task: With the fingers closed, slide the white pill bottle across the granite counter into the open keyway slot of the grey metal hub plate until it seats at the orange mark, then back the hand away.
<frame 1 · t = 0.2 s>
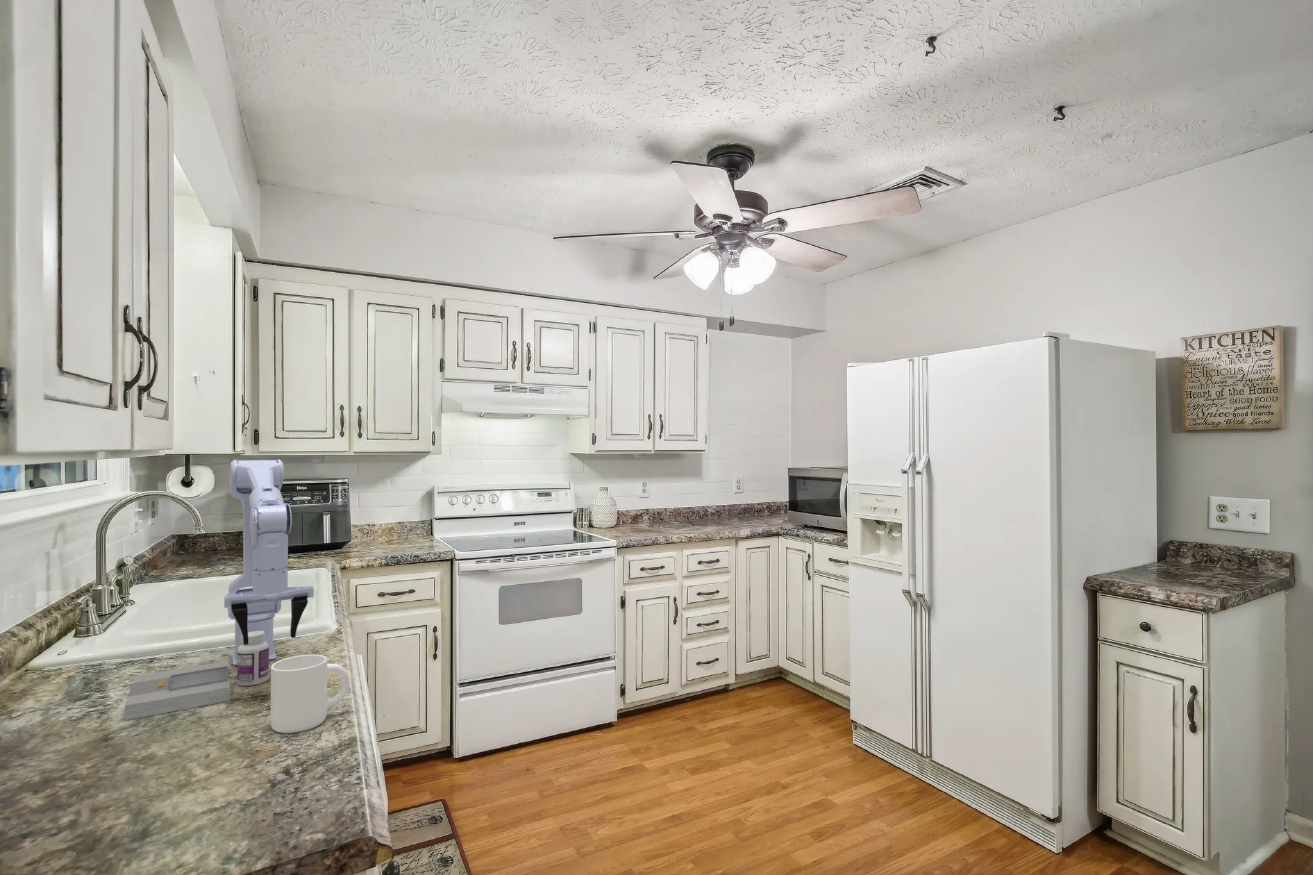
hand: (269, 639, 122), 10 cm above the countertop, tool pointing down, fingers open, 7 cm apart
pill bottle: (252, 682, 128), on the countertop
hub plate: (181, 694, 121), on the countertop
mug: (311, 721, 109), on the countertop
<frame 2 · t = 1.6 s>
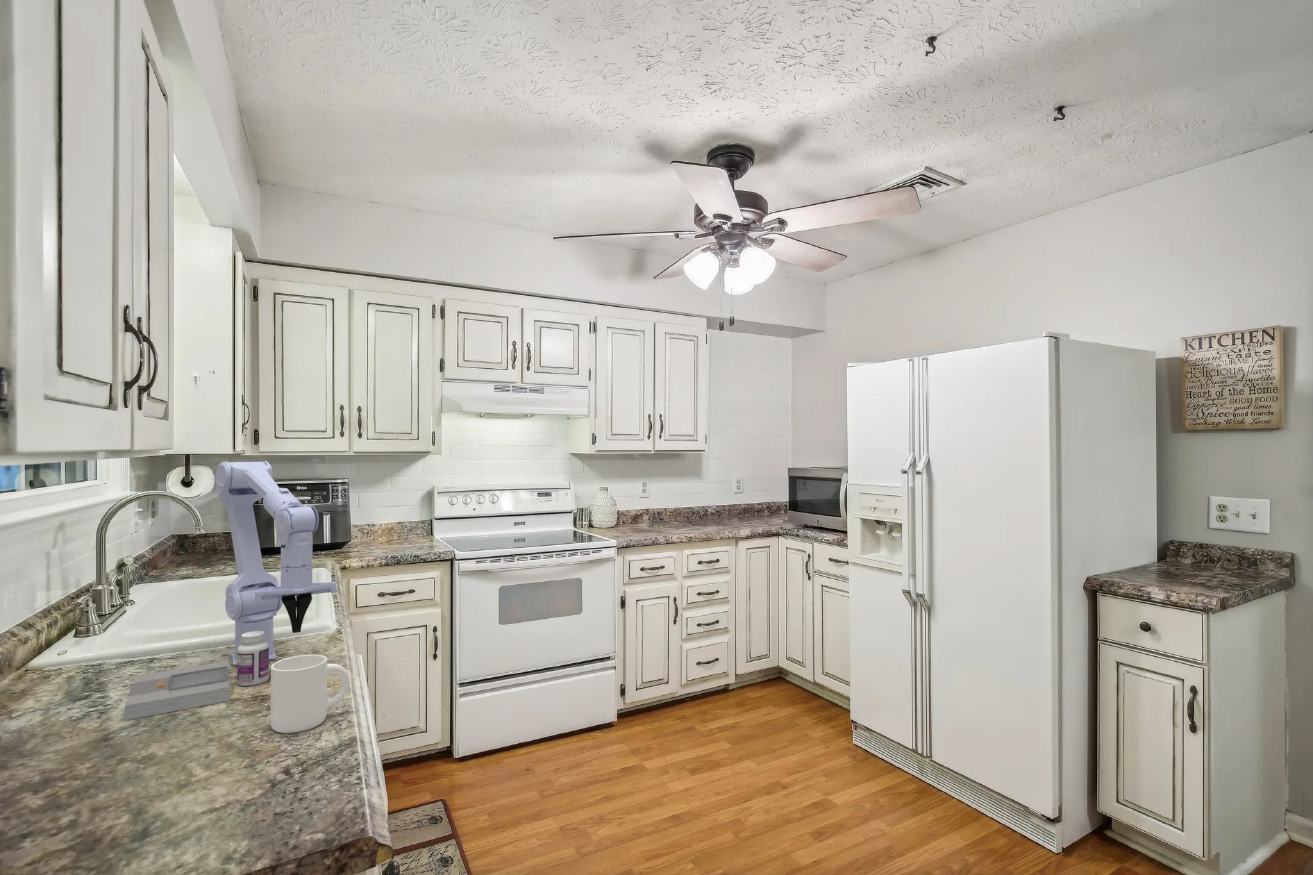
hand: (296, 631, 132), 9 cm above the countertop, tool pointing down, fingers closed
nothing on the countertop moved.
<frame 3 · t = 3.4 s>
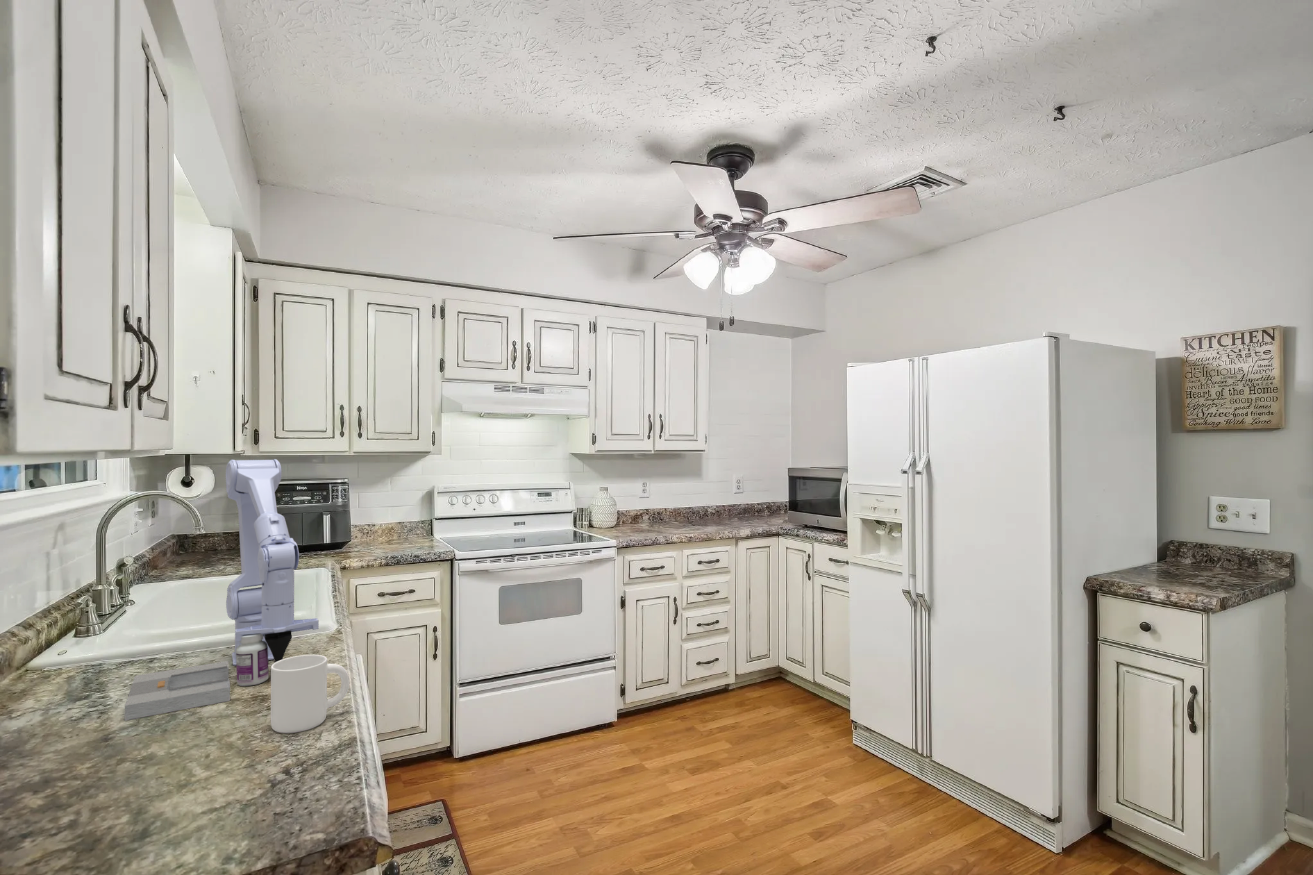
hand: (277, 670, 130), 2 cm above the countertop, tool pointing down, fingers closed, pressing on pill bottle
pill bottle: (252, 682, 128), on the countertop, touching gripper
everything else where it was.
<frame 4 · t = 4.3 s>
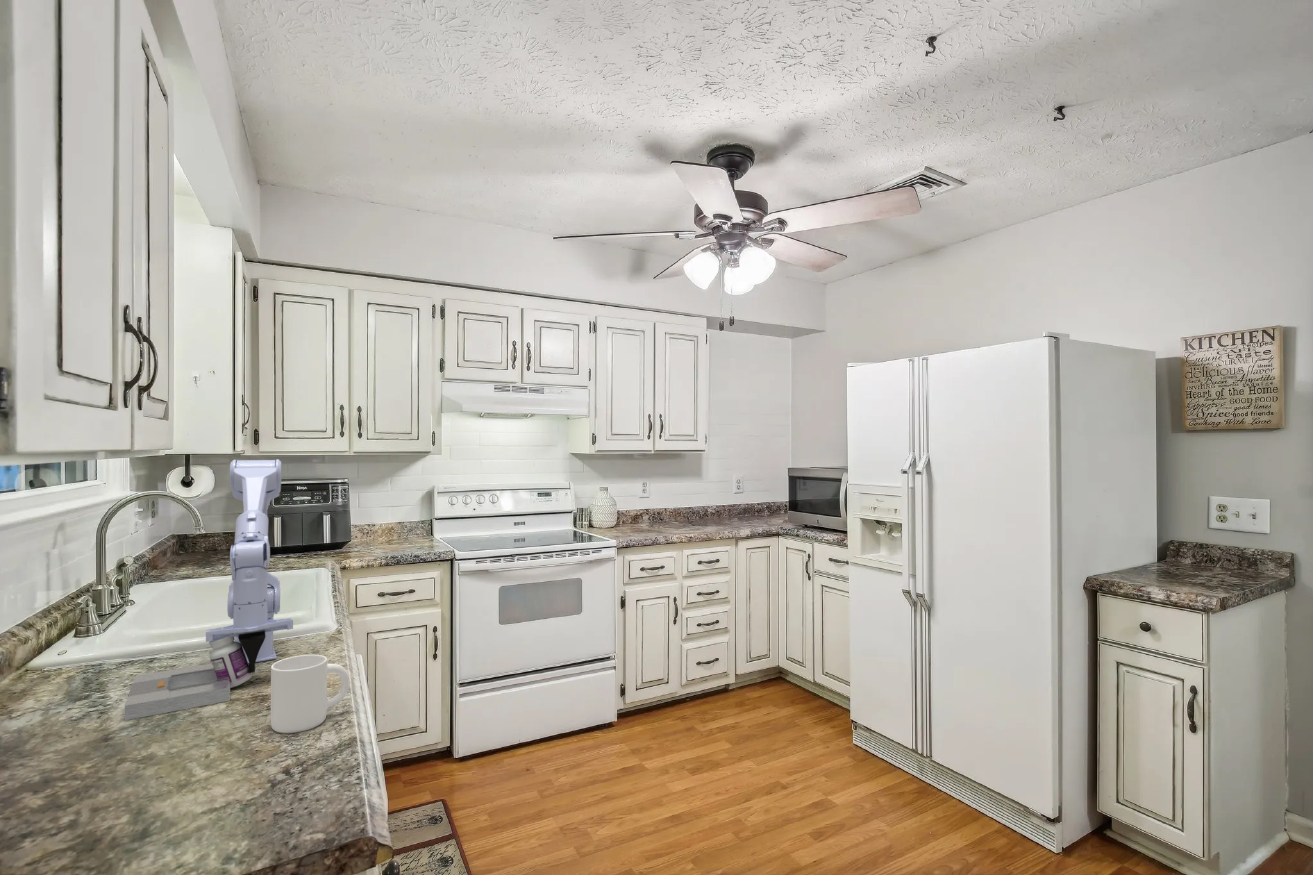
hand: (250, 671, 127), 2 cm above the countertop, tool pointing down, fingers closed, pressing on pill bottle
pill bottle: (237, 683, 126), on the countertop, touching gripper
everything else where it was.
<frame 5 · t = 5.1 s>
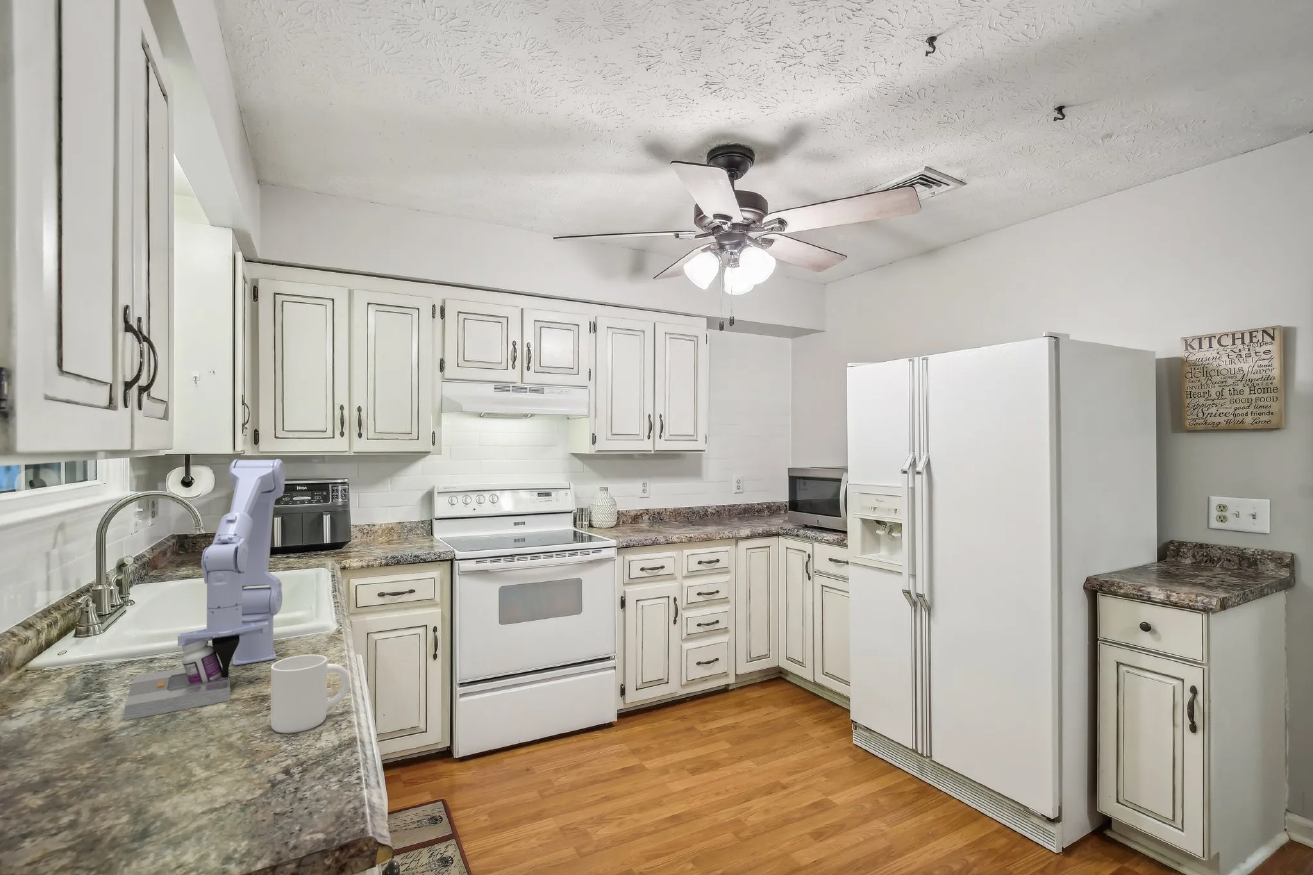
hand: (224, 676, 124), 2 cm above the countertop, tool pointing down, fingers closed, pressing on pill bottle
pill bottle: (210, 688, 124), resting in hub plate, touching gripper
everything else where it was.
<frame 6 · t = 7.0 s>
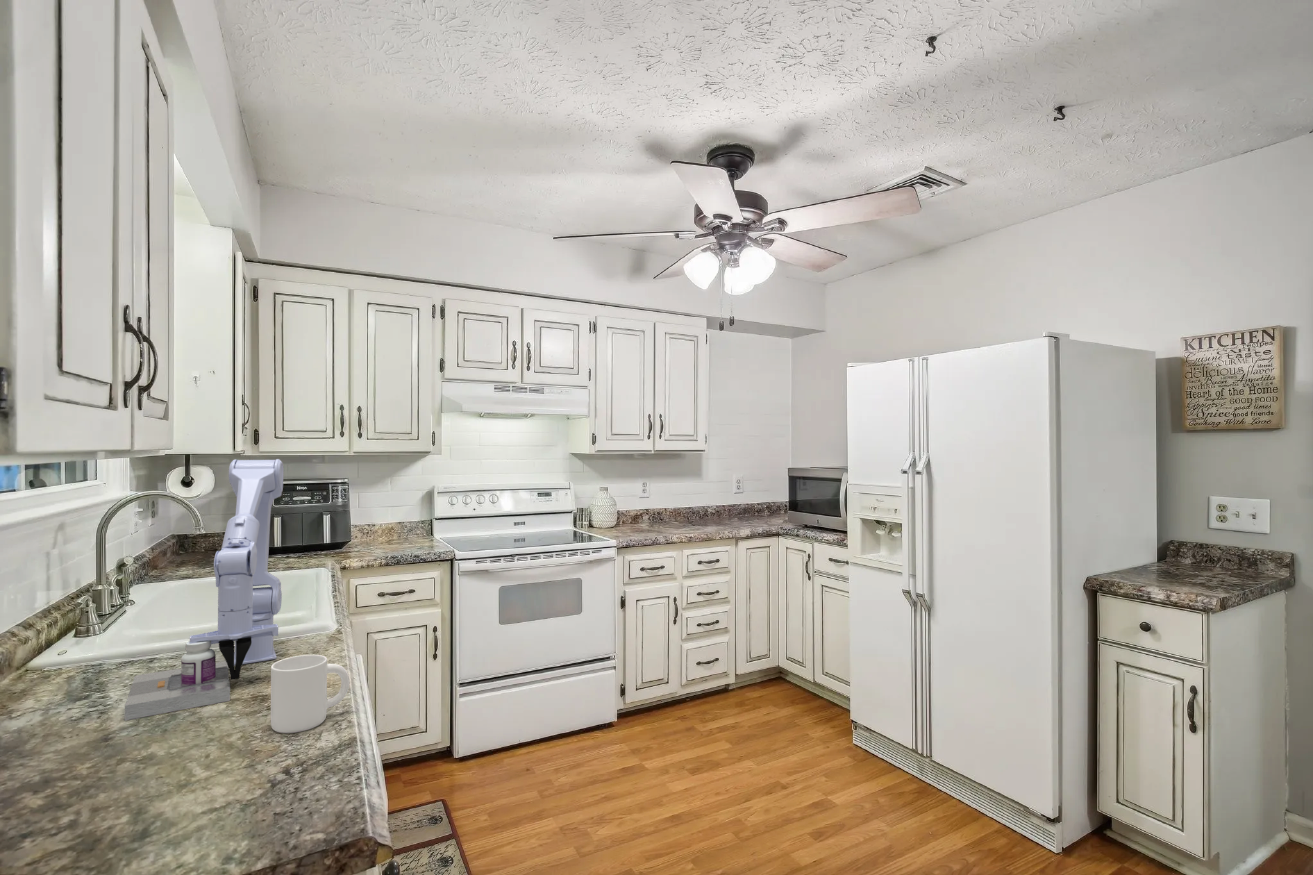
hand: (234, 677, 126), 1 cm above the countertop, tool pointing down, fingers closed
pill bottle: (198, 692, 123), resting in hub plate
everything else where it was.
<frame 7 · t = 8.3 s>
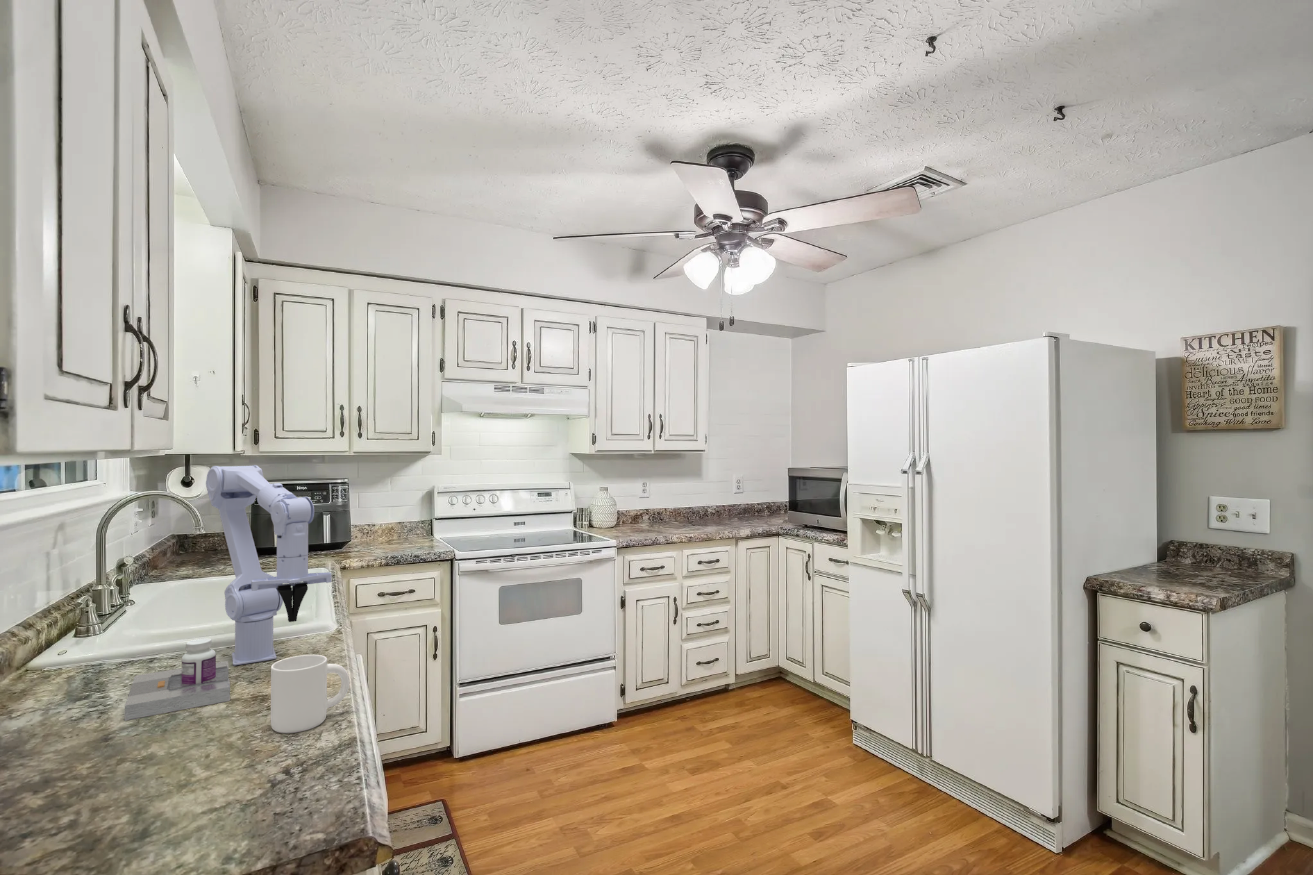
hand: (292, 620, 135), 10 cm above the countertop, tool pointing down, fingers closed
nothing on the countertop moved.
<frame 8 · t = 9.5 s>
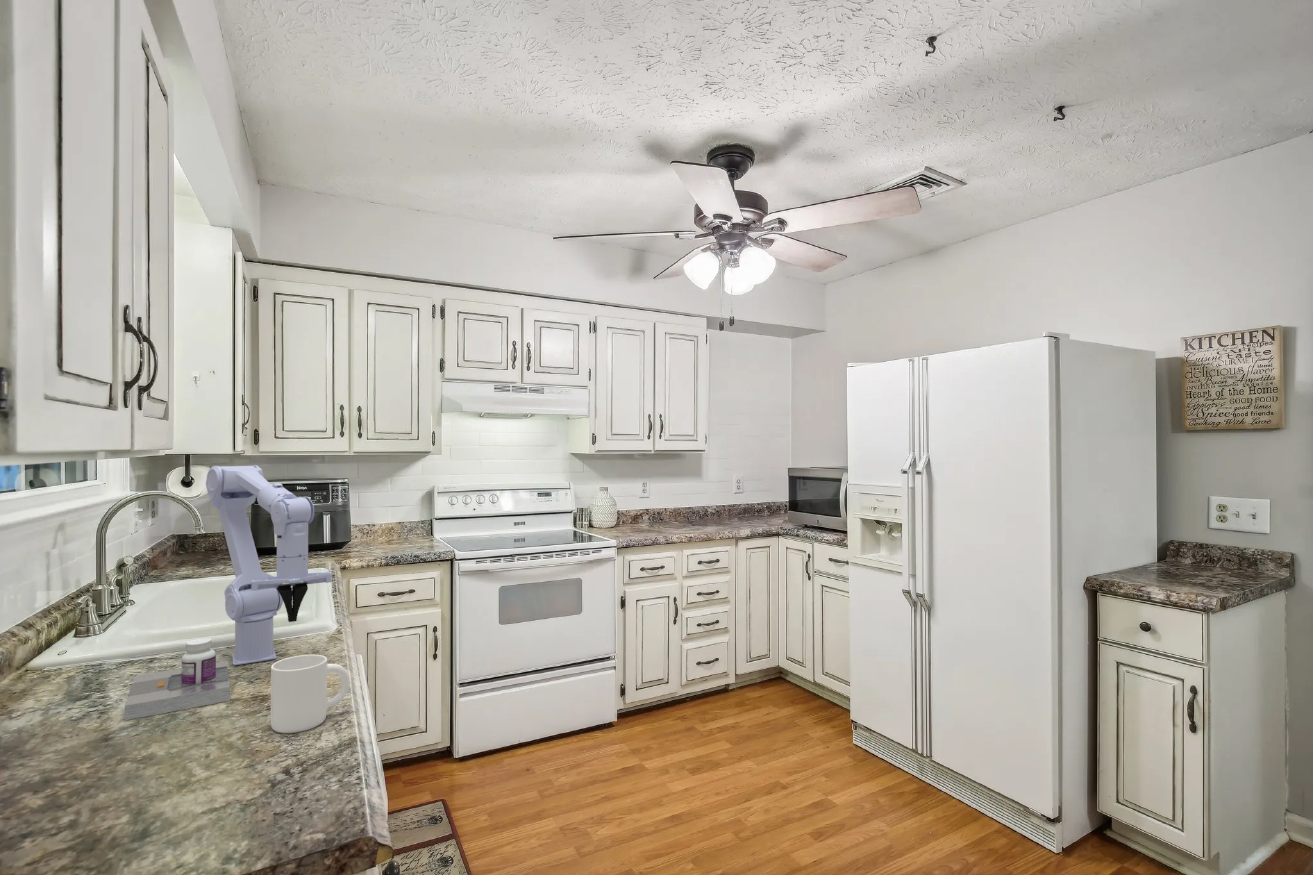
hand: (292, 620, 135), 10 cm above the countertop, tool pointing down, fingers closed
nothing on the countertop moved.
at the end: pill bottle 1.2 cm from the target spot on the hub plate, point 0.0 cm above the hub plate's base; pill bottle tilted 0°; pill bottle moved 8.8 cm from its start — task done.
